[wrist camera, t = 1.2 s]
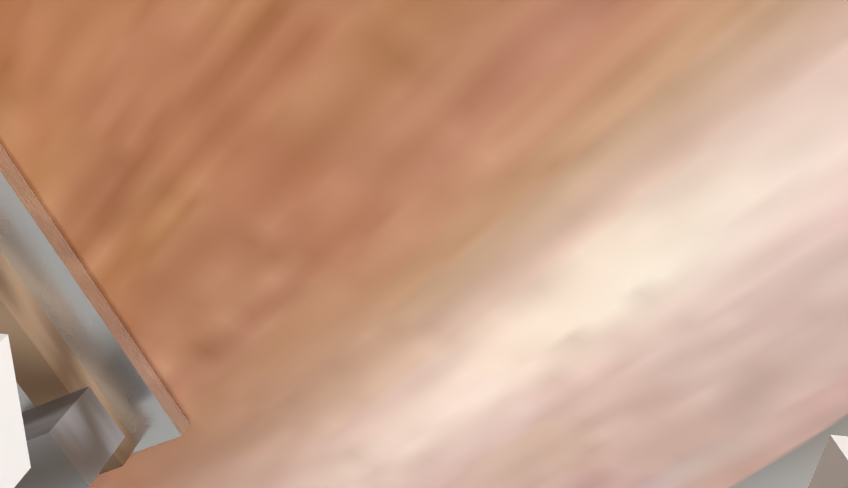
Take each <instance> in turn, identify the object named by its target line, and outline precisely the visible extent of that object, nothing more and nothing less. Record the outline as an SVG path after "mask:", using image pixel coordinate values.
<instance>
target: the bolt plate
mask: <svg viewBox="0 0 848 488" xmlns="http://www.w3.org/2000/svg"><path fill="white" fill-rule="evenodd" d="M0 250H1V252H2V253H3V255H4V256H5V257H6V259H7V260H8V262H9V263H10V264H11V266H12V267H13V269H14V270H15V271H16V273H17V274H18V276H19V277H20V278H21V280H22V281H23V283H24V284H25V285H26V287H27V288H28V290H29V291H30V292H31V294H32V295H33V297H34V298H35V299H36V301H37V302H38V304H39V305H40V306H41V308H42V309H43V311H44V312H45V313H46V315H47V316H48V318H49V319H50V320H51V322H52V323H53V325H54V326H55V327H56V329H57V330H58V332H59V333H60V334H61V336H62V337H63V339H64V340H65V341H66V343H67V344H68V346H69V347H70V348H71V350H72V351H73V353H74V354H75V355H76V357H77V358H78V360H79V361H80V362H81V364H82V365H83V367H84V368H85V369H86V371H87V372H88V374H89V375H90V376H91V378H92V379H93V381H94V382H95V383H96V385H97V386H98V388H99V389H100V390H101V392H102V393H103V395H104V396H105V397H106V399H107V400H108V402H109V403H110V405H111V406H112V407H113V409H114V410H115V412H116V413H117V414H118V416H119V417H120V419H121V420H122V421H123V423H124V424H125V426H126V427H127V428H128V430H129V431H130V433H131V434H132V435H133V437H134V438H135V440H136V441H137V442H138V445H137V446H136V447H135V449H134V450H133V452H132V453H135V452H138V451H140V450H143V449H146V448H149V447H152V446H155V445H157V444H160V443H163V442H166V441H169V440H172V439H175V438H177V437H180V436H182V435H183V433H184V431H185V430H186V428H187V426H188V425H189V423H188V421H187V420H186V418H185V417H184V415H183V414H182V412H181V411H180V409H179V408H178V406H177V405H176V403H175V402H174V400H173V399H172V397H171V396H170V394H169V393H168V391H167V390H166V388H165V387H164V385H163V384H162V383H161V381H160V380H159V378H158V377H157V375H156V374H155V372H154V371H153V369H152V368H151V366H150V365H149V363H148V362H147V360H146V359H145V357H144V356H143V354H142V353H141V351H140V350H139V348H138V347H137V345H136V344H135V342H134V341H133V340H132V338H131V337H130V335H129V334H128V332H127V331H126V329H125V328H124V326H123V325H122V323H121V322H120V320H119V319H118V317H117V316H116V314H115V313H114V311H113V310H112V308H111V307H110V305H109V304H108V302H107V301H106V300H105V298H104V297H103V295H102V294H101V292H100V291H99V289H98V288H97V286H96V285H95V283H94V282H93V280H92V279H91V277H90V276H89V274H88V273H87V271H86V270H85V268H84V267H83V265H82V264H81V262H80V261H79V260H78V258H77V257H76V255H75V254H74V252H73V251H72V249H71V248H70V246H69V245H68V243H67V242H66V240H65V239H64V237H63V236H62V234H61V233H60V231H59V230H58V228H57V227H56V225H55V224H54V222H53V221H52V220H51V218H50V217H49V215H48V214H47V212H46V211H45V209H44V208H43V206H42V205H41V203H40V202H39V200H38V199H37V197H36V196H35V194H34V193H33V191H32V190H31V188H30V187H29V185H28V184H27V182H26V181H25V180H24V178H23V177H22V175H21V174H20V172H19V171H18V169H17V168H16V166H15V165H14V163H13V162H12V160H11V159H10V157H9V156H8V154H7V153H6V151H5V150H4V148H3V147H2V145H1V144H0ZM16 384H17V389H18V395H19V401H20V407H21V412H24V411H26V410H29V409H31V408H34V407H35V406H34V404H33V403H32V402H31V400H30V399H29V398H28V396H27V395H26V394H25V392H24V391H23V390H22V388H21V387H20V386H19V384H18V383H17V382H16ZM132 453H131V454H132Z"/></svg>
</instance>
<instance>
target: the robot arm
mask: <svg viewBox="0 0 848 488" xmlns="http://www.w3.org/2000/svg"><path fill="white" fill-rule="evenodd" d="M30 468H31V465H30V459H29V453H28V448H27V442H26V436H25V430H24V424H23V418H22V413H21V407H20V401H19V395H18V389H17V384H16V378H15V372H14V366H13V360H12V354H11V349H10V343H9V337H8V334H0V488H14V487H15V486H16V485H17V484H18V483H19V481H20V480H21V479H22V478H23V476H24V475H25V474H26V473H27V472H28V470H29V469H30ZM808 488H848V437H845V436H836V435H830V437H829V439H828V442H827V444H826V447H825V449H824V451H823V454H822V456H821V459H820V461H819V463H818V466H817V468H816V471H815V473H814V475H813V478H812V480H811V482H810V485H809V487H808Z"/></svg>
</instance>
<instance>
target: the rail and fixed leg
mask: <svg viewBox="0 0 848 488" xmlns="http://www.w3.org/2000/svg"><path fill="white" fill-rule="evenodd" d="M0 334H8V337H9V343H10V349H11V354H12V360H13V366H14V372H15V378H16V382H17V383H18V384H19V386H20V387H21V388H22V390H23V391H24V392H25V394H26V395H27V396H28V398H29V399H30V400H31V402H32V403H33V404H34V406H35V407H34V408H31V409H29V410H26V411H24V412H21V413H22V418H23V424H24V430H25V436H26V442H27V448H28V453H29V459H30V465H31V468H30V469H29V470H28V472H27V473H26V474H25V475H24V476H23V478H22V479H21V480H20V481H19V483H18V484H17V485H16V486H15V487H14V488H87V487H90V485H91V484H92V482H93V481H94V480H95V478H96V477H97V475H98V474H101V473H104V472H107V471H110V470H113V469H116V468H118V467H121V466H123V465H124V464H125V462H126V461H127V459H128V458H129V456H130V455H131V453H132V452H133V450H134V449H135V447H136V446H137V445H138V442H137V441H136V440H135V438H134V437H133V435H132V434H131V433H130V431H129V430H128V428H127V427H126V426H125V424H124V423H123V421H122V420H121V419H120V417H119V416H118V414H117V413H116V412H115V410H114V409H113V407H112V406H111V405H110V403H109V402H108V400H107V399H106V397H105V396H104V395H103V393H102V392H101V390H100V389H99V388H98V386H97V385H96V383H95V382H94V381H93V379H92V378H91V376H90V375H89V374H88V372H87V371H86V369H85V368H84V367H83V365H82V364H81V362H80V361H79V360H78V358H77V357H76V355H75V354H74V353H73V351H72V350H71V348H70V347H69V346H68V344H67V343H66V341H65V340H64V339H63V337H62V336H61V334H60V333H59V332H58V330H57V329H56V327H55V326H54V325H53V323H52V322H51V320H50V319H49V318H48V316H47V315H46V313H45V312H44V311H43V309H42V308H41V306H40V305H39V304H38V302H37V301H36V299H35V298H34V297H33V295H32V294H31V292H30V291H29V290H28V288H27V287H26V285H25V284H24V283H23V281H22V280H21V278H20V277H19V276H18V274H17V273H16V271H15V270H14V269H13V267H12V266H11V264H10V263H9V262H8V260H7V259H6V257H5V256H4V255H3V253H2V252H1V250H0Z"/></svg>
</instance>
